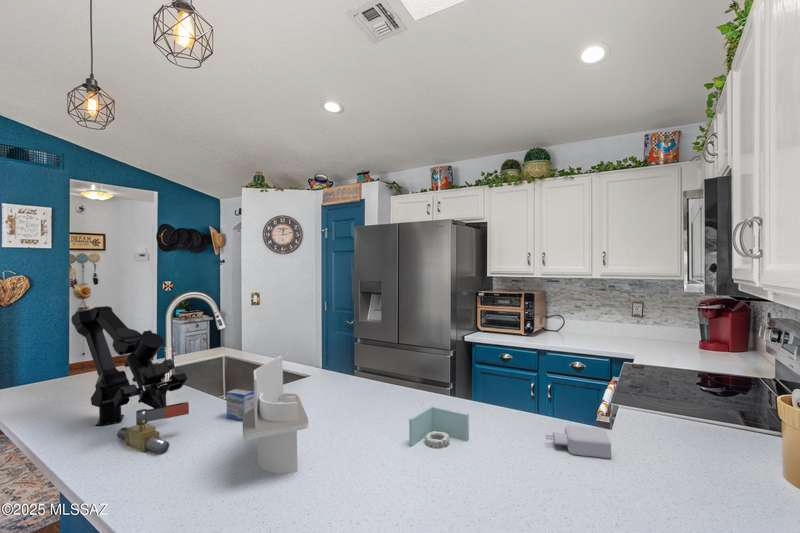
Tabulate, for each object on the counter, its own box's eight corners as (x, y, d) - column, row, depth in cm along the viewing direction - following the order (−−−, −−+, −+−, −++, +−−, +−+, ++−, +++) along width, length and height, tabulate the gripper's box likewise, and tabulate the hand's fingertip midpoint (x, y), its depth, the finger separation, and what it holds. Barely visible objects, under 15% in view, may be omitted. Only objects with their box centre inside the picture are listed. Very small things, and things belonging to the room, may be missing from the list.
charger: (544, 438, 111) (602, 444, 107) (547, 453, 102) (611, 460, 98) (544, 421, 111) (602, 426, 107) (547, 435, 102) (611, 441, 98)
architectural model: (328, 474, 93) (327, 375, 93) (231, 495, 86) (230, 387, 85) (310, 429, 119) (309, 352, 119) (234, 441, 112) (233, 359, 111)
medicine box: (226, 418, 128) (225, 392, 128) (236, 413, 132) (236, 388, 132) (245, 422, 125) (244, 394, 125) (255, 417, 130) (254, 390, 129)
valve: (115, 441, 113) (115, 420, 113) (130, 435, 116) (130, 415, 116) (155, 456, 103) (155, 433, 103) (170, 450, 107) (170, 428, 107)
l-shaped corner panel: (409, 446, 107) (409, 418, 107) (431, 430, 117) (431, 405, 117) (448, 458, 100) (448, 428, 100) (468, 440, 110) (468, 413, 110)
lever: (136, 423, 110) (136, 410, 110) (187, 412, 117) (187, 400, 117) (136, 426, 108) (136, 413, 108) (189, 415, 115) (188, 403, 115)
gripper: (118, 358, 108) (140, 406, 103) (184, 346, 124) (206, 386, 119) (104, 383, 112) (124, 430, 107) (169, 367, 128) (190, 407, 123)
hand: (164, 412), depth 114 cm, fingers closed, pressing on lever
